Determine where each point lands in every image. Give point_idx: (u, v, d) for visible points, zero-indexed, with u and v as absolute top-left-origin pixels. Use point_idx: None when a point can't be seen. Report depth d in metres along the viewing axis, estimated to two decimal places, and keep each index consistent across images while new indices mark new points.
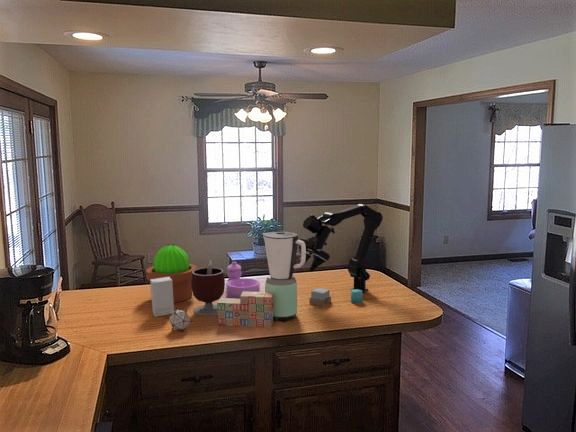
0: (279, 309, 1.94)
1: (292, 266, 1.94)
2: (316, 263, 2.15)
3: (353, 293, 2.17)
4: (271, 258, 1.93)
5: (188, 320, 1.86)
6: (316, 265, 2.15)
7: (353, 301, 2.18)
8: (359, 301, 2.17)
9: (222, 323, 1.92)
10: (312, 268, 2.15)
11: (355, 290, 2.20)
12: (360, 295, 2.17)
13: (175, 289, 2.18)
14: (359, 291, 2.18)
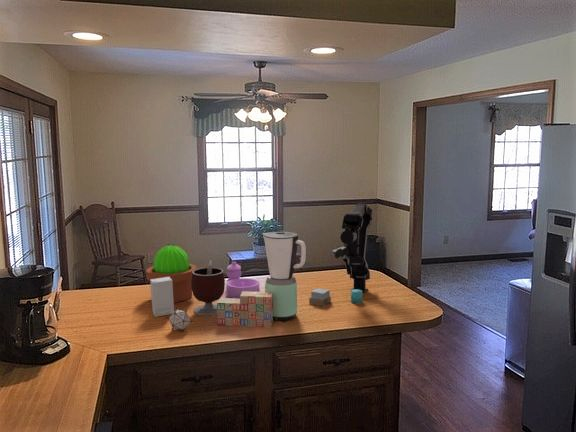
0: (279, 309, 1.94)
1: (292, 266, 1.94)
2: (355, 269, 2.11)
3: (353, 293, 2.17)
4: (271, 258, 1.93)
5: (188, 320, 1.86)
6: (356, 271, 2.11)
7: (353, 301, 2.18)
8: (359, 301, 2.17)
9: (222, 323, 1.92)
10: (353, 275, 2.12)
11: (355, 290, 2.20)
12: (360, 295, 2.17)
13: (175, 289, 2.18)
14: (359, 291, 2.19)
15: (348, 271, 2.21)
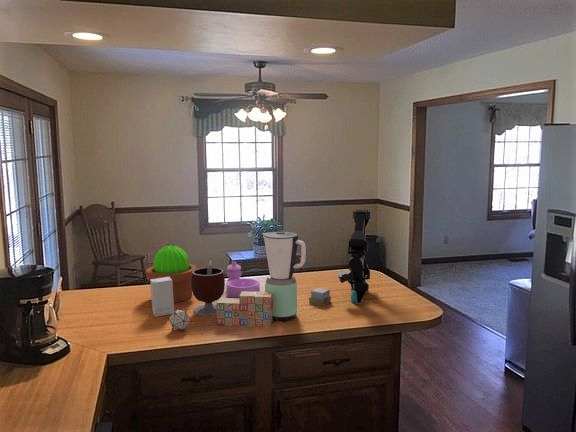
0: (279, 309, 1.94)
1: (292, 266, 1.94)
2: (360, 294, 2.13)
3: (353, 293, 2.17)
4: (271, 258, 1.93)
5: (188, 320, 1.86)
6: (361, 296, 2.14)
7: (353, 301, 2.18)
8: None
9: (221, 323, 1.91)
10: (359, 299, 2.14)
11: None
12: None
13: (175, 289, 2.18)
14: None
15: None
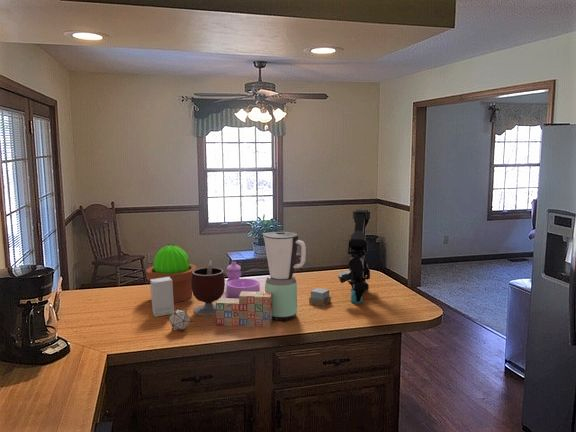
0: (279, 309, 1.94)
1: (292, 266, 1.94)
2: (359, 293, 2.15)
3: (353, 293, 2.17)
4: (271, 258, 1.93)
5: (188, 320, 1.86)
6: (360, 294, 2.15)
7: (353, 301, 2.18)
8: (359, 301, 2.17)
9: (221, 323, 1.91)
10: (358, 298, 2.16)
11: None
12: None
13: (175, 289, 2.18)
14: None
15: None
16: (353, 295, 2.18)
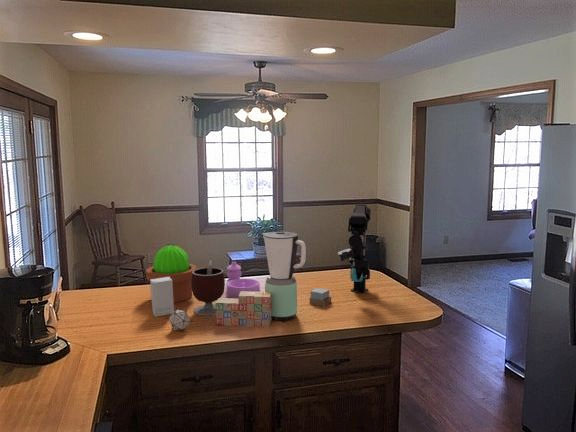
0: (279, 309, 1.94)
1: (292, 266, 1.94)
2: (359, 271, 2.14)
3: (353, 271, 2.16)
4: (271, 258, 1.93)
5: (188, 320, 1.86)
6: (360, 272, 2.14)
7: (353, 279, 2.16)
8: (359, 279, 2.16)
9: (220, 323, 1.91)
10: (358, 276, 2.15)
11: None
12: None
13: (175, 289, 2.18)
14: None
15: None
16: (353, 273, 2.16)
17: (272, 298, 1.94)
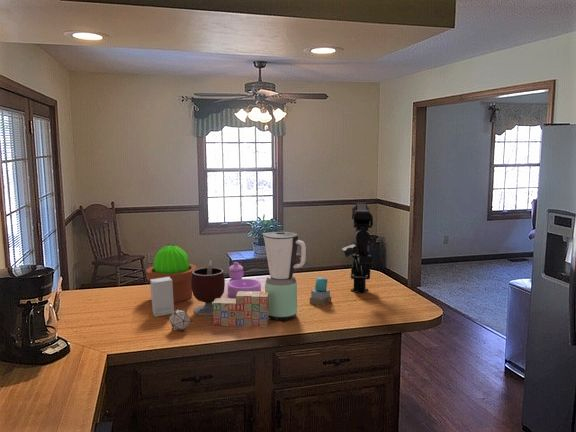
0: (279, 309, 1.94)
1: (292, 266, 1.94)
2: (365, 268, 2.11)
3: (318, 280, 2.16)
4: (271, 258, 1.93)
5: (188, 320, 1.86)
6: (366, 269, 2.11)
7: (317, 288, 2.16)
8: (323, 289, 2.16)
9: (217, 323, 1.91)
10: (364, 274, 2.12)
11: (320, 278, 2.18)
12: (325, 283, 2.16)
13: (175, 289, 2.18)
14: (324, 279, 2.17)
15: (358, 268, 2.21)
16: (318, 282, 2.16)
17: (272, 298, 1.94)
